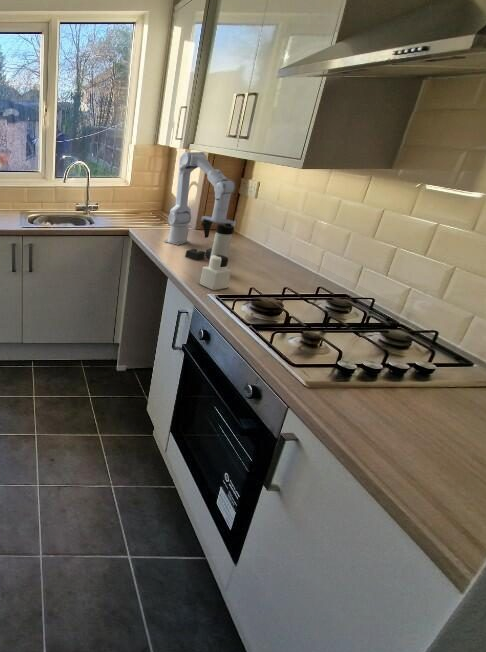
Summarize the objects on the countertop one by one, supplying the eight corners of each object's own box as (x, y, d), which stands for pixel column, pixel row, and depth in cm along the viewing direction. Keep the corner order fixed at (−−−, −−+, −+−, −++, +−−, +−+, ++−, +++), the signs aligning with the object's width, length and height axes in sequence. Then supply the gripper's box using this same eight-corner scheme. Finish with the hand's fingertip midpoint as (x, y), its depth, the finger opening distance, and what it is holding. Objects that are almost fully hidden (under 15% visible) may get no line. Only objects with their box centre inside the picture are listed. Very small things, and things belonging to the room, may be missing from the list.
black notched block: (192, 254, 194) (193, 248, 193) (203, 258, 190) (205, 251, 188) (185, 256, 191) (186, 250, 190) (197, 260, 187) (198, 253, 185)
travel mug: (203, 270, 174) (213, 223, 166) (214, 268, 177) (225, 222, 168) (215, 275, 169) (226, 227, 161) (227, 273, 172) (238, 225, 163)
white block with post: (213, 281, 162) (219, 252, 157) (227, 288, 156) (234, 257, 151) (199, 284, 160) (205, 254, 155) (213, 290, 154) (219, 260, 149)
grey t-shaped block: (209, 254, 195) (210, 248, 194) (219, 256, 191) (221, 250, 190) (202, 256, 192) (203, 250, 190) (212, 259, 188) (214, 253, 187)
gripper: (200, 207, 185) (194, 237, 190) (233, 212, 175) (226, 243, 180) (207, 205, 189) (202, 234, 194) (240, 210, 179) (233, 241, 184)
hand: (214, 239), depth 188 cm, fingers open, 7 cm apart
